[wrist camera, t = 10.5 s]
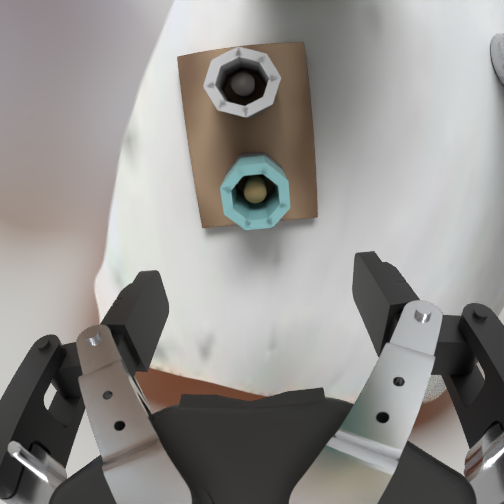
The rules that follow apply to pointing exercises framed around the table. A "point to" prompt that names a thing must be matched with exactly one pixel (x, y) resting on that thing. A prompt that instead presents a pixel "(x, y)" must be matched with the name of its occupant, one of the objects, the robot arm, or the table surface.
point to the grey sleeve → (233, 64)
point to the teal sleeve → (261, 212)
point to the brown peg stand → (251, 131)
